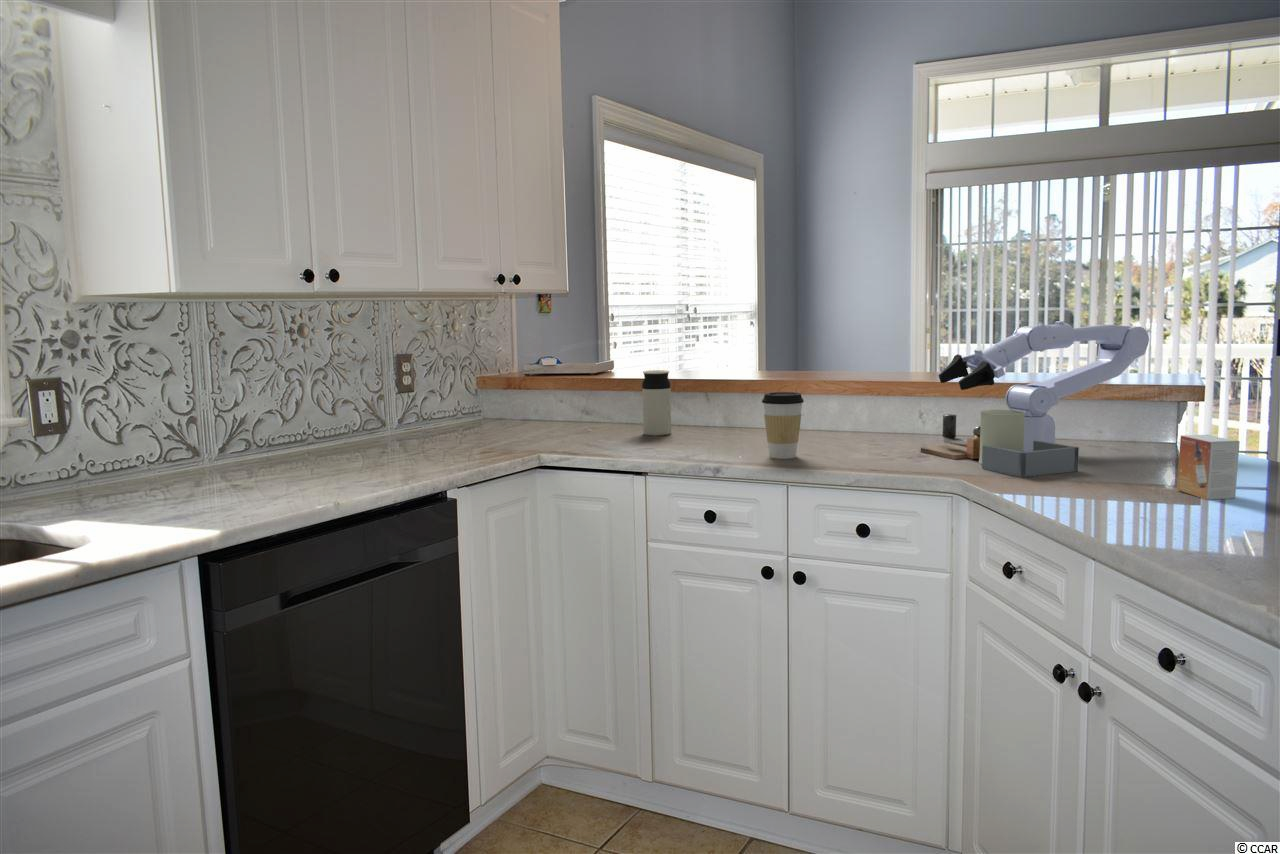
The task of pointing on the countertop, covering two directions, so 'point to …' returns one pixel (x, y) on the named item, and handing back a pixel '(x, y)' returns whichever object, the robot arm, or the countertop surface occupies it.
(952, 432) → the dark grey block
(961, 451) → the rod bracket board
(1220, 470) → the small box
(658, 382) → the travel mug
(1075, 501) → the countertop surface
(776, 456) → the coffee cup
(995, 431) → the can
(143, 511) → the countertop surface
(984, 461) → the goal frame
